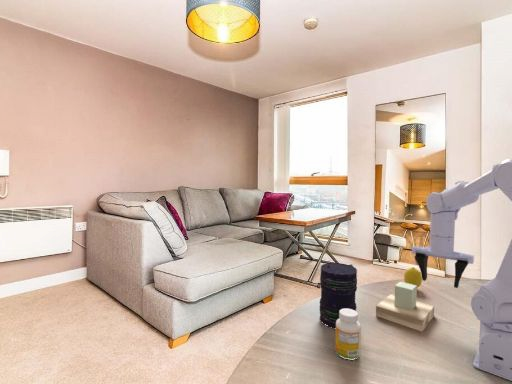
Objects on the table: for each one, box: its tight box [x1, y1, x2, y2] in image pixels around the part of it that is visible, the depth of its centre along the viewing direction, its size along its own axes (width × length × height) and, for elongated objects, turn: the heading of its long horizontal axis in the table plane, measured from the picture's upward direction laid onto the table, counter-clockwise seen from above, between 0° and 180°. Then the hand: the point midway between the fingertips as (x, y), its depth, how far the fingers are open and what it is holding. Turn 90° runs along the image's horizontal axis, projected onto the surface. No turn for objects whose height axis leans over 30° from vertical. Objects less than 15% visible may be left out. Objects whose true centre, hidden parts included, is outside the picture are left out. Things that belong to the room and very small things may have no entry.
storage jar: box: [319, 262, 358, 329], centre depth 79 cm, size 10×10×15 cm
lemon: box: [403, 266, 423, 288], centre depth 102 cm, size 6×6×8 cm
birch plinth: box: [375, 293, 435, 333], centre depth 82 cm, size 12×12×3 cm
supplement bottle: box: [334, 308, 362, 359], centre depth 64 cm, size 5×5×10 cm
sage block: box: [394, 281, 418, 311], centre depth 82 cm, size 4×4×6 cm
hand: (439, 283), depth 80 cm, fingers open, 7 cm apart
